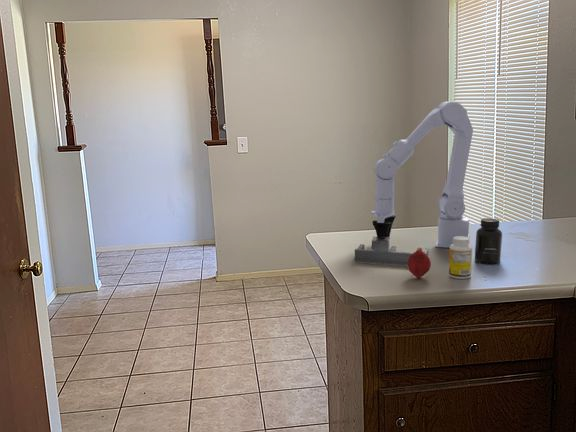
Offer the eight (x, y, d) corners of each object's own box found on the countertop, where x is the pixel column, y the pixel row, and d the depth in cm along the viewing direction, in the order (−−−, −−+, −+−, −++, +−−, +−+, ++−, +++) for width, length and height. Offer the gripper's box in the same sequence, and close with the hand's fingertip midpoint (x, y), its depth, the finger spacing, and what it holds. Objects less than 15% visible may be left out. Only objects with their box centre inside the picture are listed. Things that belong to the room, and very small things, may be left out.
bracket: (427, 258, 162) (428, 246, 161) (425, 267, 153) (425, 255, 152) (360, 253, 168) (360, 242, 167) (354, 262, 159) (354, 250, 158)
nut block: (389, 249, 172) (389, 236, 171) (388, 254, 167) (388, 240, 166) (373, 249, 173) (373, 236, 172) (371, 253, 168) (371, 240, 168)
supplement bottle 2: (487, 266, 153) (490, 223, 151) (469, 260, 159) (471, 219, 157) (505, 262, 156) (508, 220, 154) (487, 257, 162) (489, 216, 160)
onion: (430, 282, 141) (431, 251, 140) (407, 280, 142) (407, 250, 141) (429, 275, 147) (430, 245, 145) (407, 274, 148) (407, 244, 146)
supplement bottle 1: (454, 271, 149) (455, 234, 147) (474, 275, 145) (476, 237, 143) (444, 277, 145) (446, 238, 143) (465, 281, 141) (467, 241, 139)
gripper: (375, 193, 182) (375, 234, 184) (367, 201, 168) (366, 245, 171) (397, 194, 180) (396, 236, 182) (391, 202, 166) (390, 247, 169)
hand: (383, 240), depth 176 cm, fingers open, 6 cm apart
